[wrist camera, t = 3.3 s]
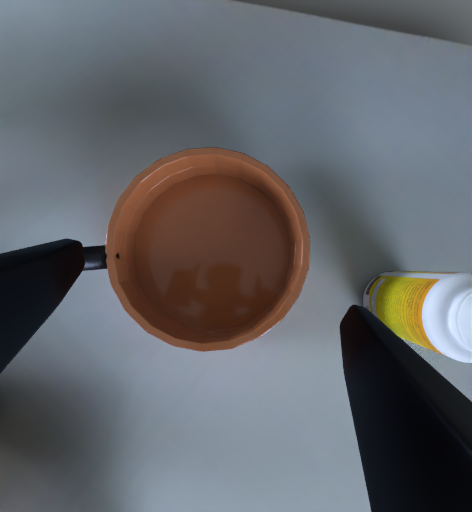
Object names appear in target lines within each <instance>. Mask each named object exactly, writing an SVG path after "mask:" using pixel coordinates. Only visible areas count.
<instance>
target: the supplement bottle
mask: <svg viewBox="0 0 472 512" xmlns="http://www.w3.org/2000/svg"><path fill="white" fill-rule="evenodd" d="M363 305H364V307H366V308H367V309H368V310H369V311H371V312H372V313H373V314H374V315H375V316H376V317H377V318H378V319H379V320H381V321H382V322H383V323H384V324H385V325H386V326H387V327H388V328H390V329H391V330H392V331H393V332H394V333H395V334H396V335H397V336H399V337H400V338H403V339H405V340H408V341H410V342H413V343H415V344H417V345H420V346H423V347H425V348H427V349H430V350H432V351H435V352H437V353H439V354H442V355H444V356H447V357H449V358H452V359H455V360H458V361H461V362H466V363H472V273H464V272H420V271H390V272H385V273H382V274H379V275H378V276H376V277H375V278H373V279H372V280H371V281H370V283H369V284H368V285H367V287H366V289H365V292H364V296H363Z"/></svg>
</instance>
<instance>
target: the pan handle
mask: <svg viewBox="0 0 472 512" xmlns="http://www.w3.org/2000/svg"><path fill="white" fill-rule="evenodd" d="M105 249H106V245H103V246H91V247H83V252H84V258H85V266H84V269H83V271H85V270H96V269H108V268H107V263H106V259H107V254H106V252H105ZM116 257H117V259H119V258H120V254H119V253H117V254H116Z"/></svg>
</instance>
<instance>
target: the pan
mask: <svg viewBox="0 0 472 512" xmlns="http://www.w3.org/2000/svg"><path fill="white" fill-rule="evenodd" d="M105 252H106V254H107V259H106V263H107V268H108V273H109V278H110V282H111V285H112V287H113V289H114V291H115V293H116V295H117V297H118V298H119V300H120V302H121V304H122V306H123V308H124V309H125V311H126V312H127V313H128V314H129V315H130V316H131V317H132V318H133V319H134V320H135V321H136V322H137V323H138V324H139V325H140V326H141V327H142V328H143V329H144V330H145V331H147V332H148V333H149V334H151V335H153V336H155V337H157V338H159V339H161V340H163V341H164V342H166V343H168V344H170V345H172V346H176V347H181V348H186V349H191V350H196V351H203V352H204V351H215V350H226V349H233V348H235V347H238V346H240V345H243V344H245V343H248V342H250V341H253V340H255V339H258V338H259V337H261V336H262V335H264V334H265V333H266V332H267V331H269V330H270V329H271V328H272V327H274V326H275V325H276V324H277V323H279V322H280V321H281V320H282V319H283V318H284V317H285V315H286V314H287V312H288V311H289V310H290V308H291V307H292V305H293V304H294V303H295V301H296V300H297V298H298V297H299V295H300V293H301V290H302V287H303V284H304V281H305V278H306V275H307V272H308V269H309V268H308V267H309V253H310V236H309V232H308V228H307V224H306V220H305V216H304V212H303V210H302V208H301V206H300V204H299V203H298V201H297V199H296V198H295V196H294V194H293V192H292V191H291V189H290V187H289V186H288V185H287V184H286V183H285V182H284V181H283V180H282V179H281V178H280V177H279V176H278V175H277V174H276V173H275V172H274V171H273V170H272V169H270V168H269V167H268V166H267V165H265V164H263V163H261V162H259V161H257V160H255V159H253V158H252V157H250V156H248V155H246V154H244V153H241V152H236V151H231V150H226V149H221V148H216V147H209V148H196V149H186V150H183V151H180V152H178V153H175V154H172V155H169V156H167V157H164V158H161V159H159V160H157V161H156V162H155V163H153V164H152V165H151V166H149V167H148V168H147V169H145V170H144V171H143V172H141V173H140V174H139V175H137V176H136V177H135V178H134V179H133V181H132V182H131V183H130V185H129V186H128V187H127V189H126V190H125V191H124V193H123V194H122V195H121V196H120V198H119V199H118V201H117V204H116V206H115V209H114V211H113V214H112V217H111V219H110V222H109V224H108V227H107V237H106V249H105ZM117 253H119V254H120V258H119V259H117V257H116V254H117Z"/></svg>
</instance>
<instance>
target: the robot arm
mask: <svg viewBox="0 0 472 512" xmlns="http://www.w3.org/2000/svg"><path fill="white" fill-rule="evenodd" d="M84 266H85V258H84V252H83V246H82V243H81V242H79V241H76V240H72V239H62V240H58V241H54V242H49V243H45V244H41V245H36V246H32V247H27V248H23V249H19V250H14V251H10V252H6V253H1V254H0V373H1V372H2V371H3V370H4V369H5V367H6V366H7V365H8V364H9V363H10V362H11V360H12V359H13V358H14V357H15V356H16V355H17V353H18V352H19V351H20V350H21V349H22V348H23V346H24V345H25V344H26V343H27V342H28V341H29V339H30V338H31V337H32V336H33V335H34V334H35V332H36V331H37V330H38V329H39V328H40V327H41V325H42V324H43V323H44V322H45V321H46V320H47V318H48V317H49V316H50V315H51V314H52V313H53V311H54V310H55V309H56V308H57V306H58V305H59V304H60V302H61V301H62V300H63V298H64V297H65V295H66V294H67V292H68V291H69V289H70V288H71V287H72V285H73V284H74V282H75V281H76V279H77V278H78V276H79V275H80V273H81V272H82V271H83V269H84ZM340 336H341V348H342V359H343V369H344V376H345V381H346V386H347V391H348V396H349V401H350V406H351V411H352V416H353V421H354V426H355V431H356V436H357V441H358V446H359V451H360V456H361V461H362V466H363V471H364V476H365V481H366V486H367V491H368V496H369V501H370V506H371V511H372V512H472V402H471V401H470V400H469V399H468V398H467V397H466V396H465V395H463V394H462V393H461V392H460V391H459V390H458V389H457V388H456V387H454V386H453V385H452V384H451V383H450V382H449V381H448V380H447V379H446V378H444V377H443V376H442V375H441V374H440V373H439V372H438V371H437V370H435V369H434V368H433V367H432V366H431V365H430V364H429V363H428V362H426V361H425V360H424V359H423V358H422V357H421V356H420V355H419V354H418V353H416V352H415V351H414V350H413V349H412V348H411V347H410V346H409V345H407V344H406V343H405V342H404V341H403V340H402V339H401V338H400V337H399V336H397V335H396V334H395V333H394V332H393V331H392V330H391V329H390V328H388V327H387V326H386V325H385V324H384V323H383V322H382V321H381V320H379V319H378V318H377V317H376V316H375V315H374V314H373V313H372V312H371V311H369V310H368V309H367V308H366V307H363V306H358V305H352V306H351V307H350V308H349V309H348V311H347V313H346V314H345V316H344V318H343V319H342V321H341V323H340Z"/></svg>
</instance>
